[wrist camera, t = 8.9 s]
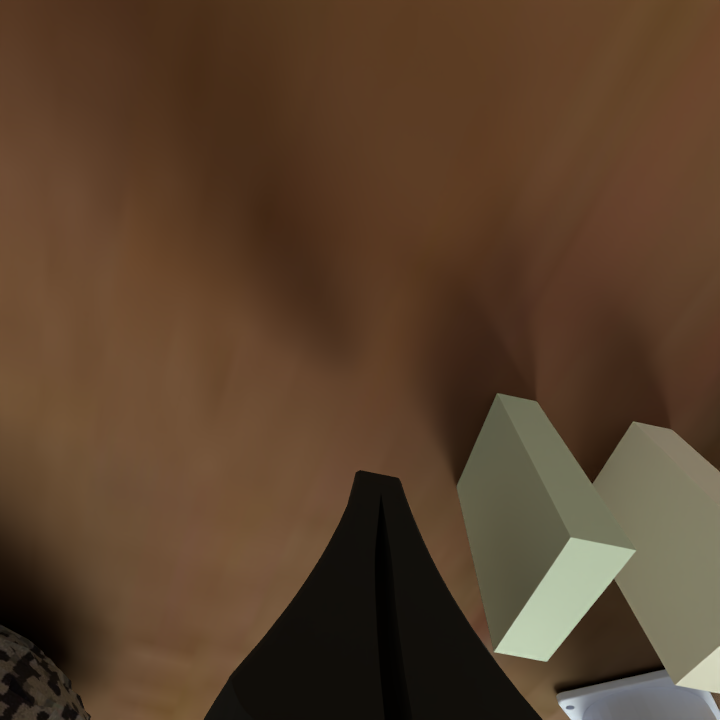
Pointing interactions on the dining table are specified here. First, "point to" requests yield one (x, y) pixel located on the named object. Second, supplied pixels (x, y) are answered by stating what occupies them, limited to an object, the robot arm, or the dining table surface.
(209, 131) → the dining table surface
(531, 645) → the tile
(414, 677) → the robot arm
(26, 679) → the bowl
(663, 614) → the tile
